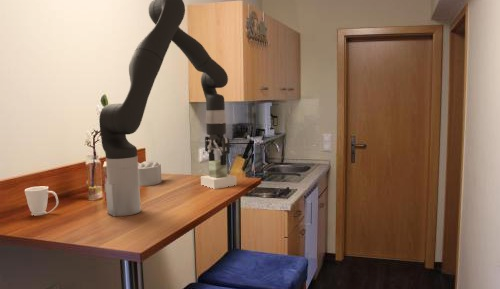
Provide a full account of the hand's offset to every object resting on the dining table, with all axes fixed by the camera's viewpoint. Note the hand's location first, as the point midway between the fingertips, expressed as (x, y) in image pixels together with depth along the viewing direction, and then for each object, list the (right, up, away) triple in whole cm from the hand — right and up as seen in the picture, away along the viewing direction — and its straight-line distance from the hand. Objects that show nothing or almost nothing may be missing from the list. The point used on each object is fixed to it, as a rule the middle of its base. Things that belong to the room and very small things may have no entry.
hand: (217, 163), depth 174 cm
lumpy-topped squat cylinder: (-30, -9, +11) cm, 33 cm away
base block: (0, -8, +1) cm, 8 cm away
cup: (-52, -14, -34) cm, 63 cm away
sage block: (0, -5, +1) cm, 5 cm away
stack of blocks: (-37, -11, -8) cm, 40 cm away
